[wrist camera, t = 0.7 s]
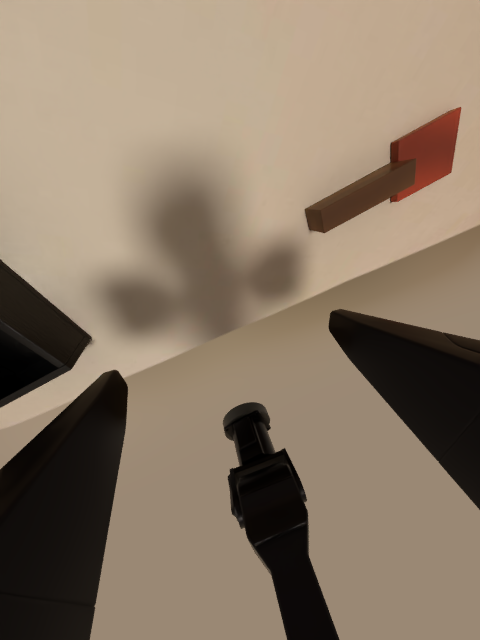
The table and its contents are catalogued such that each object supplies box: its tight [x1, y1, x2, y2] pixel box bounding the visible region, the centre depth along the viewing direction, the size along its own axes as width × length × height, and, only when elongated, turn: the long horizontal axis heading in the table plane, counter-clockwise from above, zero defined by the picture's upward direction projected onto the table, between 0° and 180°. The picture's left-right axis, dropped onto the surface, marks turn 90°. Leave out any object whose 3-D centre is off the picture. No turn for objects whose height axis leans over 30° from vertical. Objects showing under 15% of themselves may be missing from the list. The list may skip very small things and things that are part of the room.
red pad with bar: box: [305, 107, 461, 233], centre depth 18 cm, size 5×15×2 cm, turn 115°
